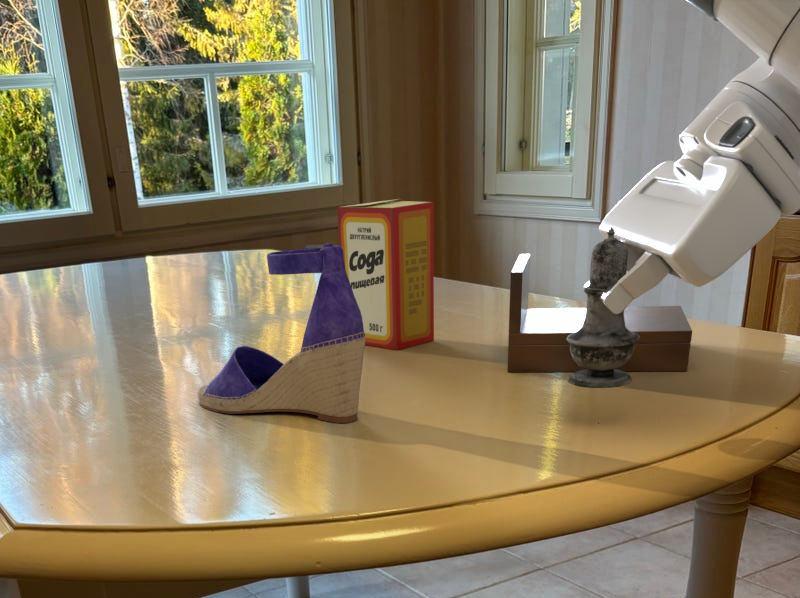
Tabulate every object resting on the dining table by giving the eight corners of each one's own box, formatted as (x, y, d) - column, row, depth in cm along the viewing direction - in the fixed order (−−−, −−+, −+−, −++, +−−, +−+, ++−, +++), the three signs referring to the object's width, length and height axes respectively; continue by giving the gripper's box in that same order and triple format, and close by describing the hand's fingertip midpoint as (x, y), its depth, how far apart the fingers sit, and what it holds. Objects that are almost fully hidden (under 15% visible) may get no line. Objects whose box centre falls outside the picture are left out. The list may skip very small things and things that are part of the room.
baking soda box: (433, 340, 115) (433, 198, 108) (396, 350, 112) (393, 204, 104) (380, 332, 122) (376, 198, 114) (344, 341, 118) (337, 203, 110)
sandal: (244, 388, 100) (229, 237, 93) (381, 415, 87) (376, 243, 80) (184, 405, 95) (163, 247, 88) (319, 437, 82) (308, 255, 75)
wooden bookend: (676, 342, 106) (687, 247, 101) (687, 371, 94) (700, 266, 89) (516, 344, 110) (519, 254, 105) (507, 372, 98) (510, 272, 94)
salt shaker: (650, 379, 78) (667, 224, 72) (603, 393, 75) (616, 233, 69) (596, 368, 82) (607, 221, 77) (549, 381, 80) (557, 229, 74)
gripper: (663, 126, 79) (543, 258, 84) (770, 128, 61) (609, 296, 66) (709, 181, 81) (588, 306, 86) (825, 198, 63) (664, 355, 68)
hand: (598, 302), depth 76 cm, fingers closed on salt shaker, 3 cm apart
